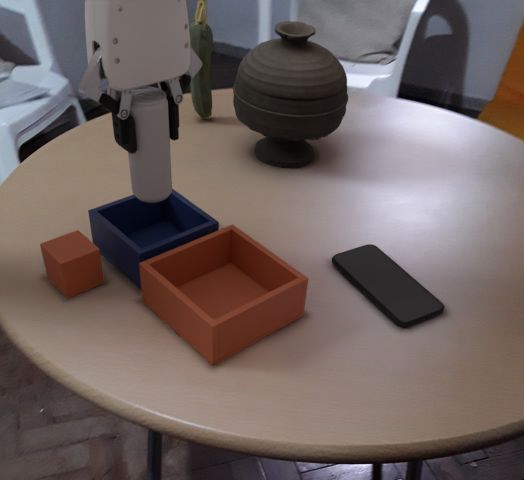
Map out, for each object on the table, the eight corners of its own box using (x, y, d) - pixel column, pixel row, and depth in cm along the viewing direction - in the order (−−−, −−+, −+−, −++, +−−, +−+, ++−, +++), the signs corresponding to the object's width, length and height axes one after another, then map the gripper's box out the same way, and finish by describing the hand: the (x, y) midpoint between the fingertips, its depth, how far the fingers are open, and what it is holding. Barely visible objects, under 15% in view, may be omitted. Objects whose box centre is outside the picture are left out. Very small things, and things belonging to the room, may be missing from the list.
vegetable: (203, 127, 109) (202, 0, 95) (183, 121, 111) (179, -5, 97) (217, 119, 112) (218, -6, 98) (197, 112, 114) (195, -11, 100)
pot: (333, 186, 96) (340, 45, 82) (221, 174, 100) (212, 38, 86) (352, 140, 109) (362, 12, 95) (253, 131, 112) (249, 7, 99)
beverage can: (152, 209, 73) (144, 107, 65) (123, 194, 75) (112, 94, 67) (180, 193, 76) (176, 94, 68) (152, 179, 78) (144, 82, 70)
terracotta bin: (212, 365, 68) (212, 327, 64) (142, 301, 75) (138, 262, 71) (303, 315, 74) (308, 278, 71) (231, 261, 81) (232, 224, 78)
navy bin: (143, 292, 76) (139, 254, 72) (93, 247, 82) (87, 210, 78) (218, 258, 82) (219, 221, 78) (167, 219, 88) (165, 183, 84)
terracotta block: (67, 298, 74) (60, 264, 71) (47, 277, 77) (39, 243, 73) (104, 283, 77) (99, 249, 73) (83, 263, 79) (78, 229, 76)
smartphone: (402, 325, 73) (328, 255, 82) (400, 331, 74) (327, 261, 82) (449, 307, 76) (372, 241, 85) (447, 312, 77) (371, 247, 85)
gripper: (184, -60, 65) (189, 113, 77) (30, -42, 56) (63, 149, 69) (230, -44, 61) (227, 135, 74) (72, -22, 52) (99, 177, 65)
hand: (148, 140), depth 71 cm, fingers closed on beverage can, 4 cm apart
